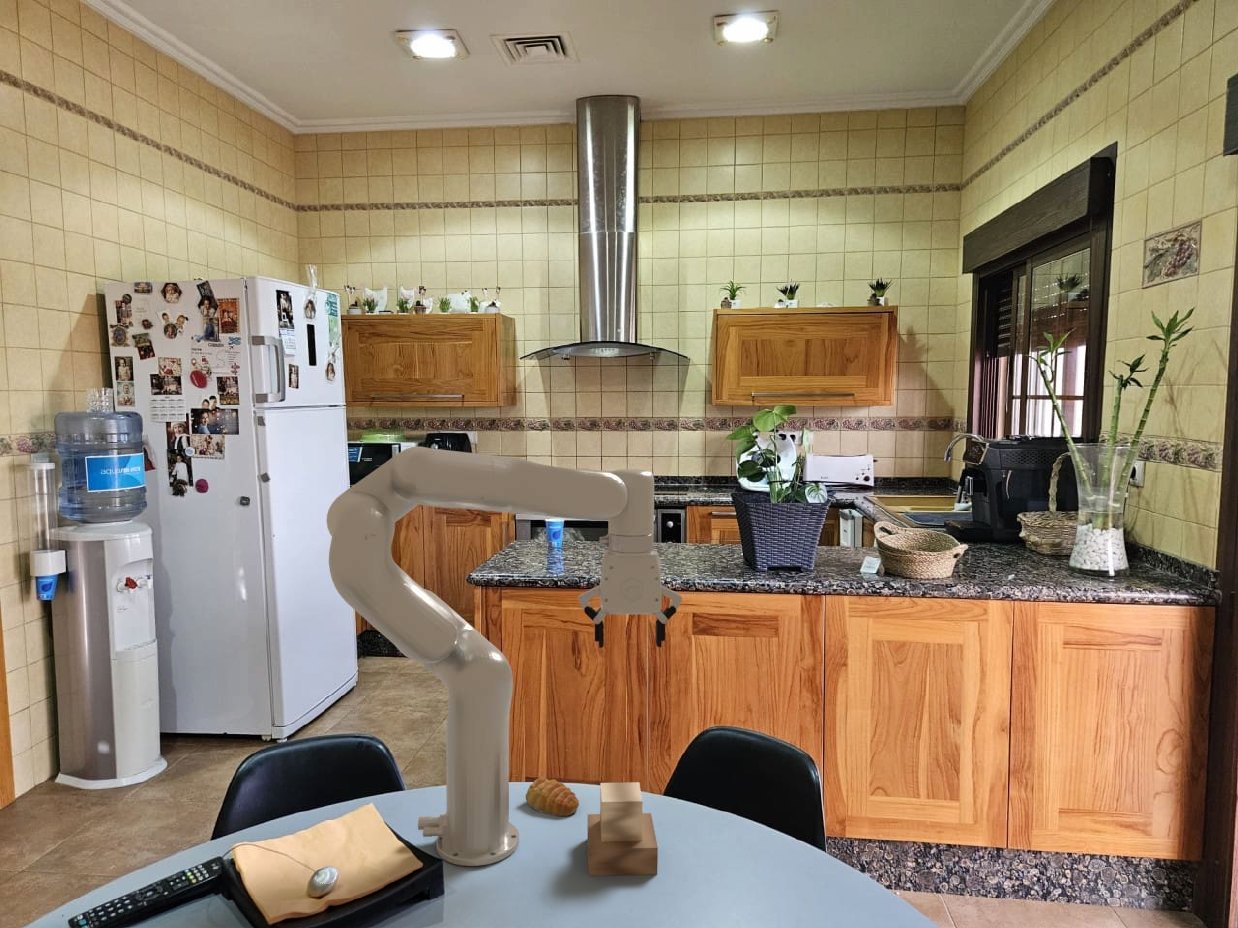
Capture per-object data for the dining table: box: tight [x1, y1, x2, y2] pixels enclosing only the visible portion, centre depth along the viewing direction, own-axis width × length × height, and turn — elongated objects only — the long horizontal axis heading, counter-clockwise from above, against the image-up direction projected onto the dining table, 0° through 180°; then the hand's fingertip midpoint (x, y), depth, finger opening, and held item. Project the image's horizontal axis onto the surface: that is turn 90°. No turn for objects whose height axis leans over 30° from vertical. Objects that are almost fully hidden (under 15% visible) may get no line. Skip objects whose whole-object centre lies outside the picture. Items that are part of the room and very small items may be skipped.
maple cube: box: [599, 781, 644, 841], centre depth 120 cm, size 6×6×6 cm
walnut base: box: [587, 812, 659, 877], centre depth 120 cm, size 10×10×4 cm
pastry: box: [525, 777, 580, 817], centre depth 135 cm, size 9×7×4 cm
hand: (629, 645), depth 132 cm, fingers open, 9 cm apart
